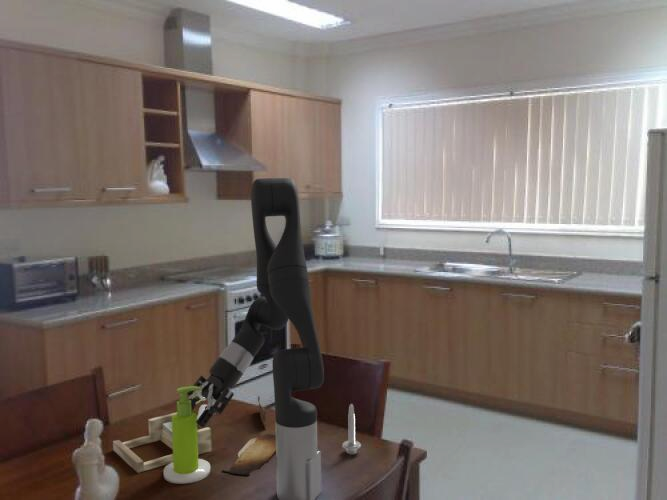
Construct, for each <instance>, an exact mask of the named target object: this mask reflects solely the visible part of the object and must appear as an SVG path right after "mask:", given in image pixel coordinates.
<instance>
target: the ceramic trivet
mask: <svg viewBox="0 0 667 500" xmlns="http://www.w3.org/2000/svg"><path fill="white" fill-rule="evenodd" d="M198 465H199V467H198V469H197V470H196V471H194V472H192V473H188V474H178V473H176V472H174V468H173V462H172V463H169V464H166V465H165V467H164V468H163V478H164V480H165V481H167V482H168V483H172V484H176V485H177V484H179V485H180V484H181V485H182V484H183V485H185V484H192V483H197V482H199V481H202V480H203V479H205V478H207V477H208V476H209V475H210V473H211V464H210V462H208V461H207V460H206V459H203V458H198Z"/></svg>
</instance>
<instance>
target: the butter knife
mask: <svg viewBox="0 0 667 500" xmlns="http://www.w3.org/2000/svg"><path fill="white" fill-rule="evenodd" d="M206 406H207V404H200V407H199V409H198V412H197V413H198V414H197V420H198V418H199V417H200V416H201V414H202V413H203V411H204V410H205V407H206Z"/></svg>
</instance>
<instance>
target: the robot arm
mask: <svg viewBox="0 0 667 500" xmlns="http://www.w3.org/2000/svg"><path fill="white" fill-rule="evenodd" d="M250 191H251V193H250V201H251V202H250V203H251V204H250V205H251V216H252V217H251V219H252V226H253V237H254V243H255V244H254V245H255V252H256V253H255V254H256V289H257V292H259V293H260V294H261V295H262V296H260V297H257V298H256V299H254V300H253V302H252V303H251V304H250V306H249V308H248V310H247V312H246V316H245V317H244V320H243V323H242V326H241V328H240V330H239V331H238V332H237V333H236V335H235V336H234V337H233V339H232V340H231V342H230V343H229V344H228V345H227V346H226V347H225V348H224V350H223V351H222V352H221V353H220V354H219V355H218V357H217V359H216V360H215V362H214V363H213V364H212V365H211V367H210V368H209V370H208V372H209V374H210V376H209V377H208V378H206V377H205V376H204V375H200V376H199V378H198V379H197V380H196V381H195V383H194V384H193V385H192V386H198V387H200V388H201V390H200V391H187V397H188V399H189V400H191V409H192V411H193V410H194V409H195V408H196V406H197V405H198V404H199V403H200V402H201V401H202V402H203V401H207V404H206V405H207V408H206V409H205V410H204V411H203V413H202V414H201V416H200V417H199V418H198V420H197V421H196V423H197V426H200V427H201V428H205V427H206V425H207V423H208V422H209V421H210V420H211V418H212V417H213V416H215V415H216V414H218V415H221V414H222V413H223V412H224V410H225V408H226V407H227V406H228V405H229V402H230V401H231V400H232V398H233V396H234V395H235V393H234V392H233V391H232V390H231V389H233V388H235V387H236V385H237V384H238V382H239V381H240V379H241V378H242V377H243V376H244V374H245V372H246V371H247V370H248V369H249V366H250V365H251V364H252V362H253V360H254V358H255V357H256V355H257V354H258V353H259V351H260V350H261V348H262V347H263V345H264V343H265V337H264V335H263V334H262V333H261V332H260V331H259V330H260V327H261V325H263V326H264V327H267V328H269V329H270V330H274V331H279V330H282V329H283V328H284V327H285V326H286V325H287V324H288V322H289V321H290V322H291V324H292V325H293V328H294V329H295V330H296V332H297V335H298V338H299V339H300V343H301V347H294V348H284V349H283V348H282V349H278V350H276V351H275V352H274V354H273V357H272V378H273V381H272V382H273V390H274V391H273V394H274V396H273V397H274V413H275V416H274V417H275V422H274V423H275V435H276V451H275V463H276V464H275V466H276V467H275V469H276V478H275V479H276V496H277V499H278V500H316V498H317V497H318V496H319V495H320V494H321V492H322V451H320V450H318V410H317V407H316V406H315V405H314V404H313V403H311V402H309V401H306V400H301V399H299V398H295V397H293V396H292V395H291V394H292V392H299V391H300V392H301V391H309V390H314V389H315V390H316V389H319V388H321V387H322V385H323V384H324V380H325V368H324V361H323V355H322V351H321V346H320V341H319V337H318V333H317V328H316V324H315V318H314V312H313V304H312V296H311V289H310V280H309V273H308V266H307V263H306V262H307V261H306V257H305V249H304V244H303V238H302V228H301V214H300V202H299V193H298V188H297V184H296V182H295V181H294V179H292V178H291V177H290V178H289V177H273V178H272V177H271V178H270V177H268V178H266V177H264V178H256V179H255V180H254V181H253V183H252V185H251V190H250ZM266 217H284V219H285V224H284V229H283V232H282V235H281V237H280V239H279V240H278V241H279V242H278V243H277V244H276V243H275V242H274V239H273V238H272V236H271V234H270V233H269V230H268V227H267V223H266V222H267V221H266Z"/></svg>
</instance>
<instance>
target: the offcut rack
mask: <svg viewBox="0 0 667 500" xmlns="http://www.w3.org/2000/svg"><path fill="white" fill-rule="evenodd" d="M174 414H177V411H176V412H173V413H172V412H171V413H169V414H166V415H161V416H156V417H152V418H149V419H147V421H148V422H147V423H148V435H146V436H141V437H137V438H133V439H130V440H127V441H123V442H122V441H121V440H120V439H117V440H113V441H112V447H113V448H112V449H113V452H114V453H116V454H117V455H118V456H119V457H120V458H121V459H122V460H123V461H124V462H125V463H126V464H127V465H128V466H130V467H131V468H132V469H133V470H134V471H135V472H136V473H137V474H140V473H143V472H145V471H149V470H153V469H155V468H158V467H162V466H167V465H168V464H170V463H172V462H173V453H171V454H169V455H165V456H162V457H158V458H154V459H151V460H147V461H144V460H143V459H142V458H141V457H139V456H138V455H137V454H136V453H135V452H134V451H133V450H131V449H133V448H136V447H139V446H143V445H147V444H151V443H154V442H158V441H160V442H161V443H164V444H165V445H166V446H167V447H169V448H170V449H171V450H173V439H172V416H173V415H174ZM197 431H198V456H199V455H202V454H205V453H209V452H212V429H211V428H210V427H206V426H205V427H202V428H200V429H197Z"/></svg>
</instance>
